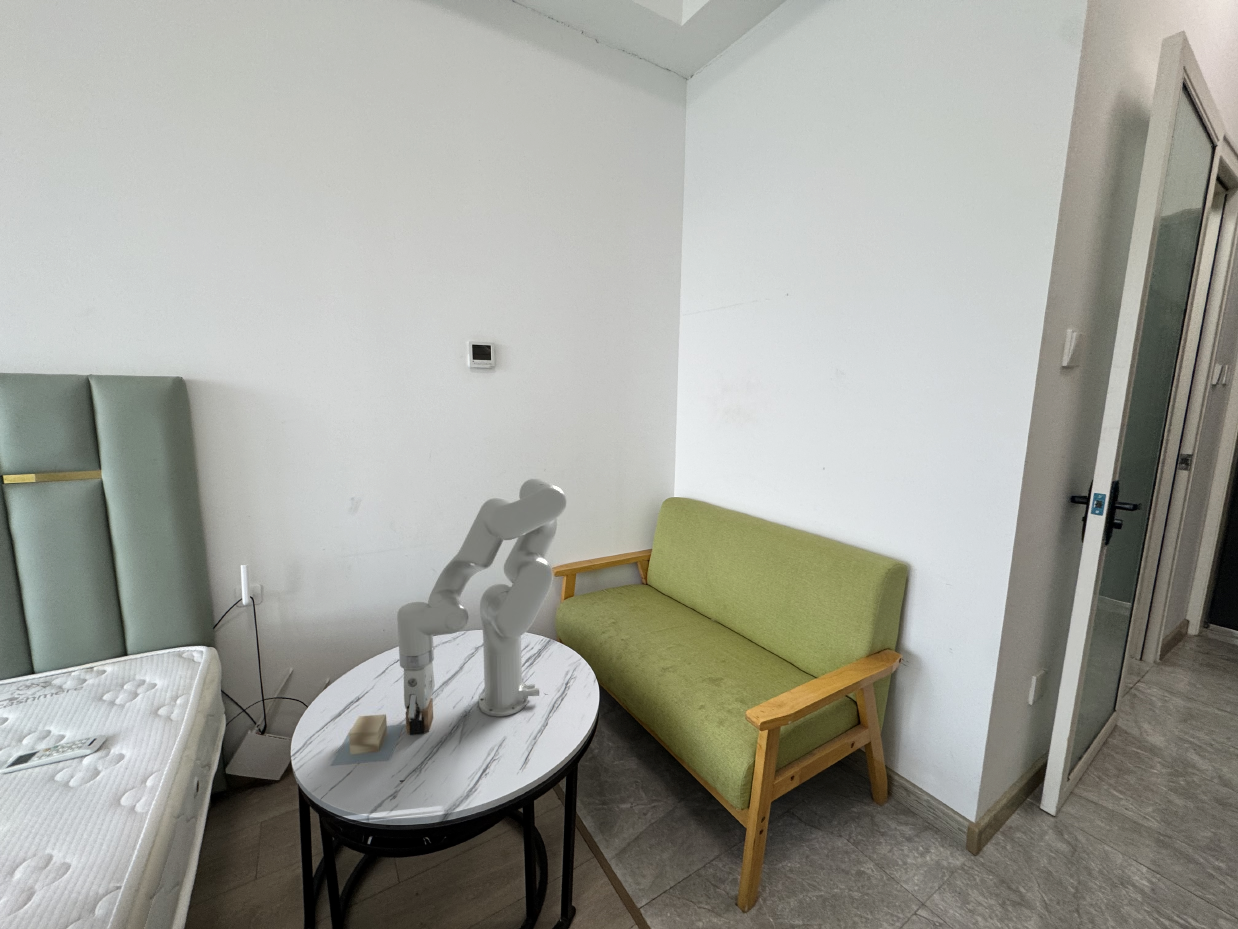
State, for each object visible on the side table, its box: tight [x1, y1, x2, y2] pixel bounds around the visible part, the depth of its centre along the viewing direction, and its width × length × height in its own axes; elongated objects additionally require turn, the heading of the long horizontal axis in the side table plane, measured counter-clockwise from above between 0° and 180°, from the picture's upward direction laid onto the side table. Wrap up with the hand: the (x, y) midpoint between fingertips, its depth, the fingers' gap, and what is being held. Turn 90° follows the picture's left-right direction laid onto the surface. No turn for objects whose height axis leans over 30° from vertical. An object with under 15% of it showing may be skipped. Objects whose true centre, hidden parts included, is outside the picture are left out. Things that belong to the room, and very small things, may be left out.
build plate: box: [330, 723, 405, 767], centre depth 115 cm, size 12×12×1 cm
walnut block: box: [405, 697, 434, 735], centre depth 121 cm, size 5×5×6 cm
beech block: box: [348, 713, 388, 754], centre depth 114 cm, size 6×6×5 cm
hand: (420, 725), depth 121 cm, fingers closed on walnut block, 5 cm apart
